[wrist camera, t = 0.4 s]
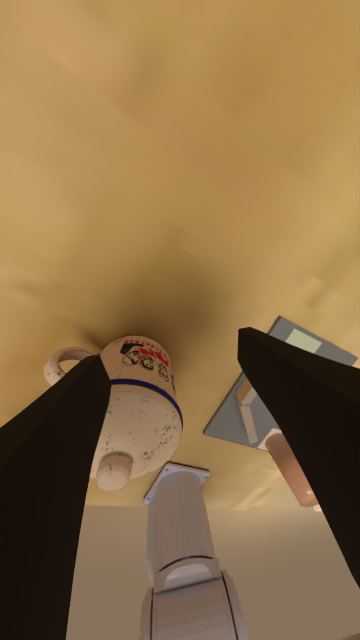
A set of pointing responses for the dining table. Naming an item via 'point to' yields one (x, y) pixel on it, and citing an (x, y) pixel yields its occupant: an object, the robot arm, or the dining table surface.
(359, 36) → the dining table surface
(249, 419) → the rails
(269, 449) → the peg
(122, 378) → the teacup with lid
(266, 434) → the board
